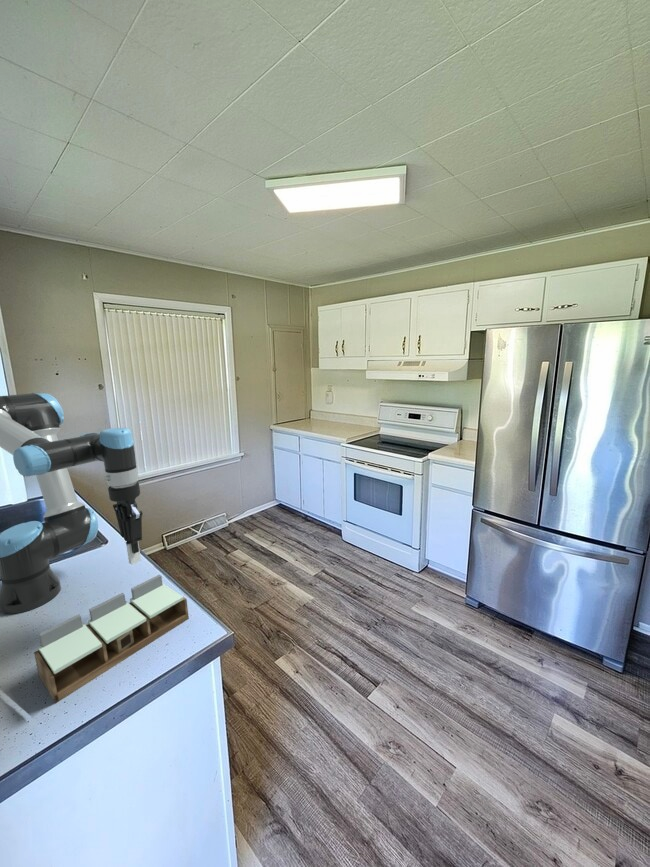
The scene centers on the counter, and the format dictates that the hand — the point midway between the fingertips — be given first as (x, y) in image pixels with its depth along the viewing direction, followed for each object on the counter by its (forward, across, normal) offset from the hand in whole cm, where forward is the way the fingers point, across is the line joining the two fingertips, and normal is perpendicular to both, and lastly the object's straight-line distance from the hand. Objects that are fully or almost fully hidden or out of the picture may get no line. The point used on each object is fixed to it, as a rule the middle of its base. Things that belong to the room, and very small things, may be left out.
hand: (135, 561), depth 102 cm
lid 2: (+8, +11, -10) cm, 17 cm away
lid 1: (+8, +11, -20) cm, 24 cm away
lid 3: (+8, +11, 0) cm, 13 cm away
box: (+15, +10, -10) cm, 21 cm away
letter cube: (+15, +11, -10) cm, 21 cm away
